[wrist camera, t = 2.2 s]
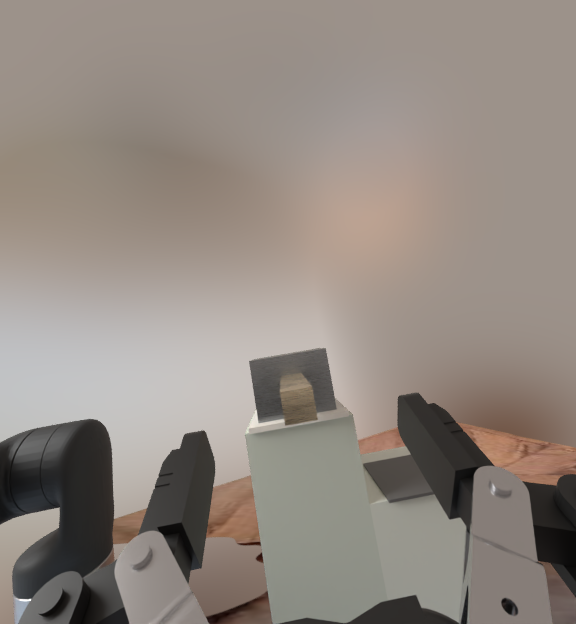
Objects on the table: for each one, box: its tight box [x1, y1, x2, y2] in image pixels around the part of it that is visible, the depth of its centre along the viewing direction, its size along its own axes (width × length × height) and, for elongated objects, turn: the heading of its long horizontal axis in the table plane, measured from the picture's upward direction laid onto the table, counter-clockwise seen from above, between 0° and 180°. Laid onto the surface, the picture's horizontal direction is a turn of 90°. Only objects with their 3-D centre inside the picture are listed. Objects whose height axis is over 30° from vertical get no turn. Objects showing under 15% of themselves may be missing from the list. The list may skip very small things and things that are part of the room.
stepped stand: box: [245, 399, 466, 624], centre depth 37 cm, size 14×28×30 cm, turn 91°
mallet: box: [249, 348, 337, 426], centre depth 31 cm, size 20×9×7 cm, turn 1°
